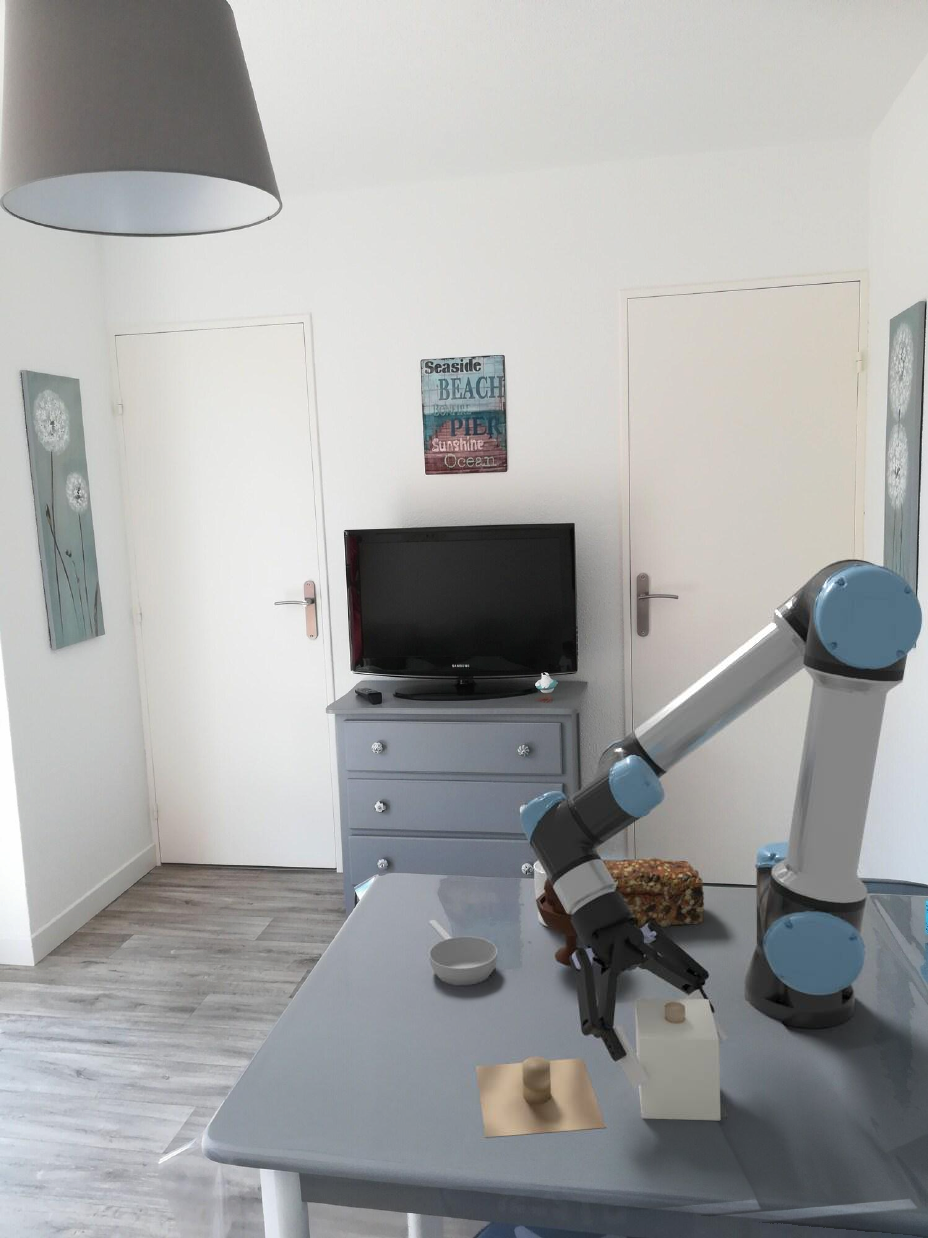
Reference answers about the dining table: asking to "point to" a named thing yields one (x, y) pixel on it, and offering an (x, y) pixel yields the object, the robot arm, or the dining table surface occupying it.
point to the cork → (536, 1080)
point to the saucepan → (462, 958)
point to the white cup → (539, 884)
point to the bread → (659, 890)
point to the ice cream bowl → (558, 921)
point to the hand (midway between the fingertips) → (681, 1064)
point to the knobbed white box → (678, 1059)
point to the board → (517, 1116)
